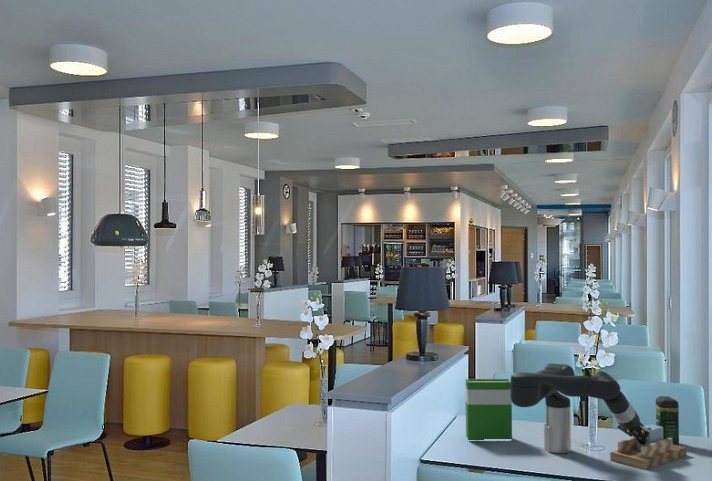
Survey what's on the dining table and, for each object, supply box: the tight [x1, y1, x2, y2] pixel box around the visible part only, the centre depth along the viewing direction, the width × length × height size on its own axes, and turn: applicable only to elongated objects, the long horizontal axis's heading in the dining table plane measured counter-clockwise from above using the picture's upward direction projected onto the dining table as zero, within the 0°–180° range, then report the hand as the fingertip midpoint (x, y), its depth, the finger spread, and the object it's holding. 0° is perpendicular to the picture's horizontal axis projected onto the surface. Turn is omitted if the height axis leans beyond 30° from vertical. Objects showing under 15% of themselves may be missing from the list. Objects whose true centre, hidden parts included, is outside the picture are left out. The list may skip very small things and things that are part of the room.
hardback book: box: [465, 378, 513, 441], centre depth 288 cm, size 18×7×24 cm, turn 88°
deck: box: [609, 436, 688, 471], centre depth 260 cm, size 28×14×7 cm, turn 127°
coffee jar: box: [655, 395, 680, 446], centre depth 279 cm, size 10×8×19 cm
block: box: [638, 423, 663, 450], centre depth 261 cm, size 9×5×8 cm, turn 127°
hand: (643, 442), depth 258 cm, fingers closed
